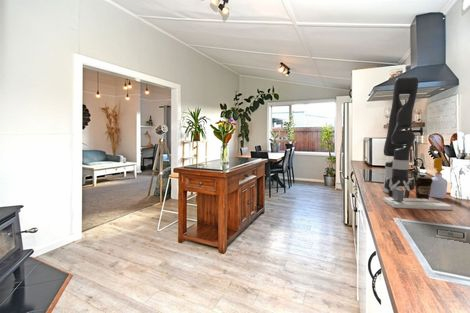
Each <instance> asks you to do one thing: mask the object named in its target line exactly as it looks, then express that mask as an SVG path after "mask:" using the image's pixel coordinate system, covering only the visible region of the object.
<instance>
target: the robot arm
mask: <svg viewBox="0 0 470 313" xmlns="http://www.w3.org/2000/svg"><path fill="white" fill-rule="evenodd" d="M418 89H419V78H418V77H415V76H408V77H407V76H405V77H397V78H396V79H395V81H394V85H393V93H392V94H393V95H392V104H391V108H390V113H389V118H388V127H387V134H386V137H385V141H384V142H385V143H384V146H383V155H384V156H385V157H393V159H392V160H388V161H386V162H385V166H384V177H383V193H387V196H388V198H393V188H399V189H401V188H404V198H410V193H411V192H410V191H414V190H415V179H414V178H409V170H410V153H411V149H412V147H413V145H414V144H413V143H414V142H415V139H416V135H415V133H414V132H413V131H403V130H406V129H409V128H411V127H412V123H413V111H414V106H415V103H416V98H417V93H418ZM400 95H409V96H408V98H407V100H405V103H403V104H402V101H401V98H400Z"/></svg>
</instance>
